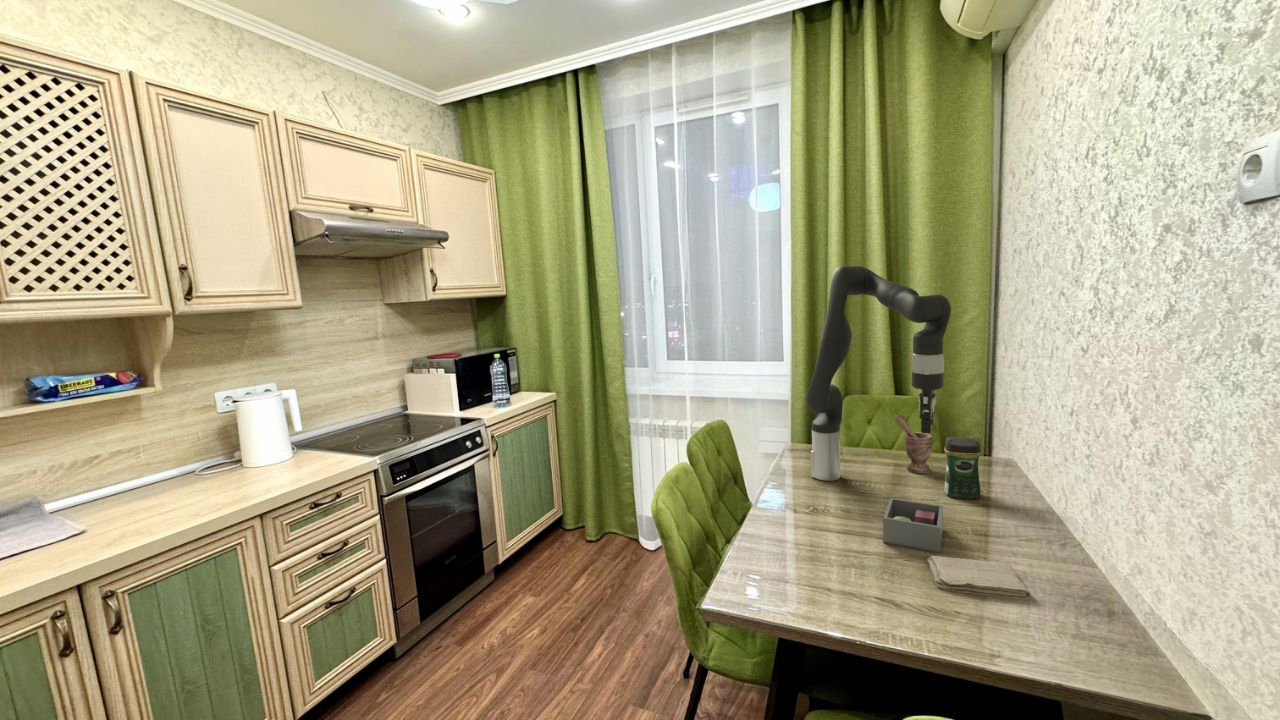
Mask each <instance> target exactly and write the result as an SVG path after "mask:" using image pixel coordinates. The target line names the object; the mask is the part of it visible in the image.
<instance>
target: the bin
mask: <svg viewBox="0 0 1280 720" xmlns="http://www.w3.org/2000/svg"><path fill="white" fill-rule="evenodd" d="M916 510H922V511H928V512H934V513H935V525H929V524H923V523H917V522H915V514H916ZM897 516H902V517H906V518H909V519H910V520H911V521H905V520H899V519H893V518H894V517H897ZM882 519H883V520H882V524H883V525H882V526H883V527H882V531H883V532H882V533H883V535H882V536H883V537H882V539H883V541H882V543H883V544H887V545H892V546H897V547H903V548H908V549H913V550H919V551H924V552H928V553H932V554H933V553H934V554H939V555H940V554H941V547H942V540H943V539H942V538H943V532H944V531H943V530H944V527H943V526H944V525H943V524H944V523H943V522H944V505H942V504H941V505H940V504H935V503H934V504H933V503H927V502H922V501H913V500H907V499H901V498H895V497H890V498H889V501H888V504H887V506H886V509H885V511H884V515H883V518H882Z"/></svg>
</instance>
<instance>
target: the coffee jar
mask: <svg viewBox="0 0 1280 720" xmlns="http://www.w3.org/2000/svg"><path fill="white" fill-rule="evenodd" d="M980 445H981V443H980V441H979V440H978V439H977V438H976V437H960V436H959V437H956V436H953V437H952V436H948V437H946V439H945V444H944V454H945V456H946V469H945V470H946V471H945V478H944V488H943V490H944V493H945V494H946V495H947V496H948V497H950V498H954V499H963V500H978V499H980V497H981V496H982V495H981V494H982V493H981V492H982V491H981V484H980V483H981V482H980V476H979V475H980V474H979V459H980V457H981V455H982V451H981V446H980Z"/></svg>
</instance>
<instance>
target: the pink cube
mask: <svg viewBox="0 0 1280 720" xmlns="http://www.w3.org/2000/svg"><path fill="white" fill-rule="evenodd" d="M915 522H917V523H923V524H929V525H935V513H934V512H928V511H922V510H916V514H915Z"/></svg>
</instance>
